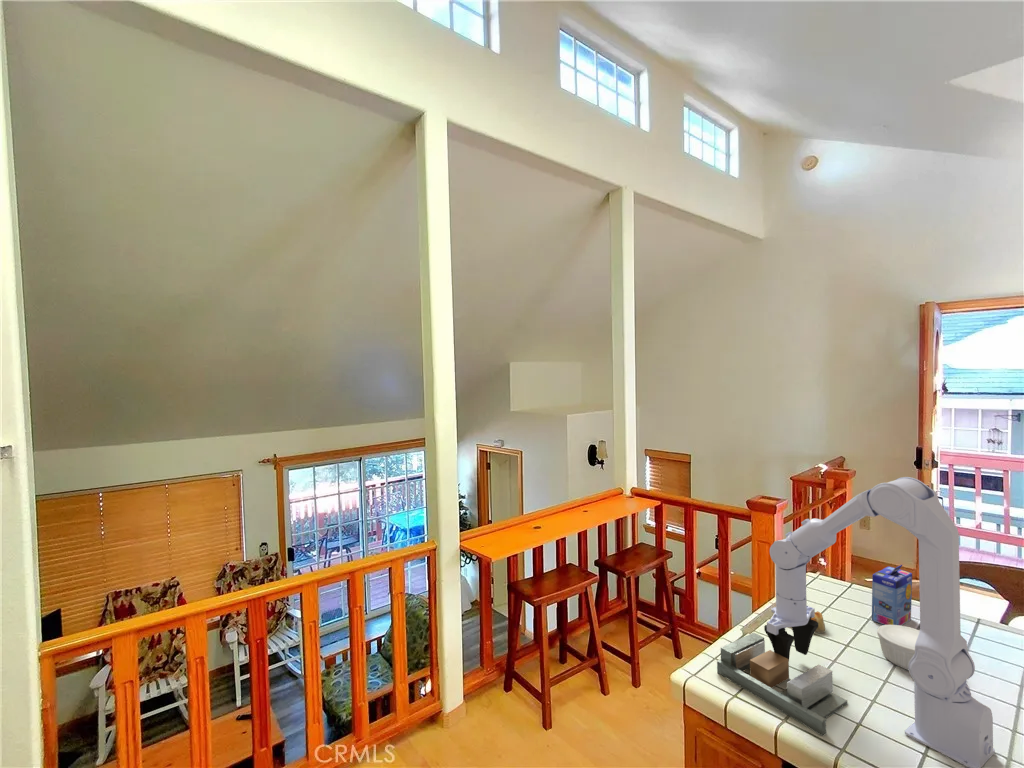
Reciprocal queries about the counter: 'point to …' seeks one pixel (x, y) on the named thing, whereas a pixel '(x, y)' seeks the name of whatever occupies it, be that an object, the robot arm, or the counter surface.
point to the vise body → (738, 660)
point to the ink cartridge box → (891, 596)
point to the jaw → (810, 686)
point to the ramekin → (898, 643)
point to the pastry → (819, 622)
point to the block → (770, 668)
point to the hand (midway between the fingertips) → (791, 657)
